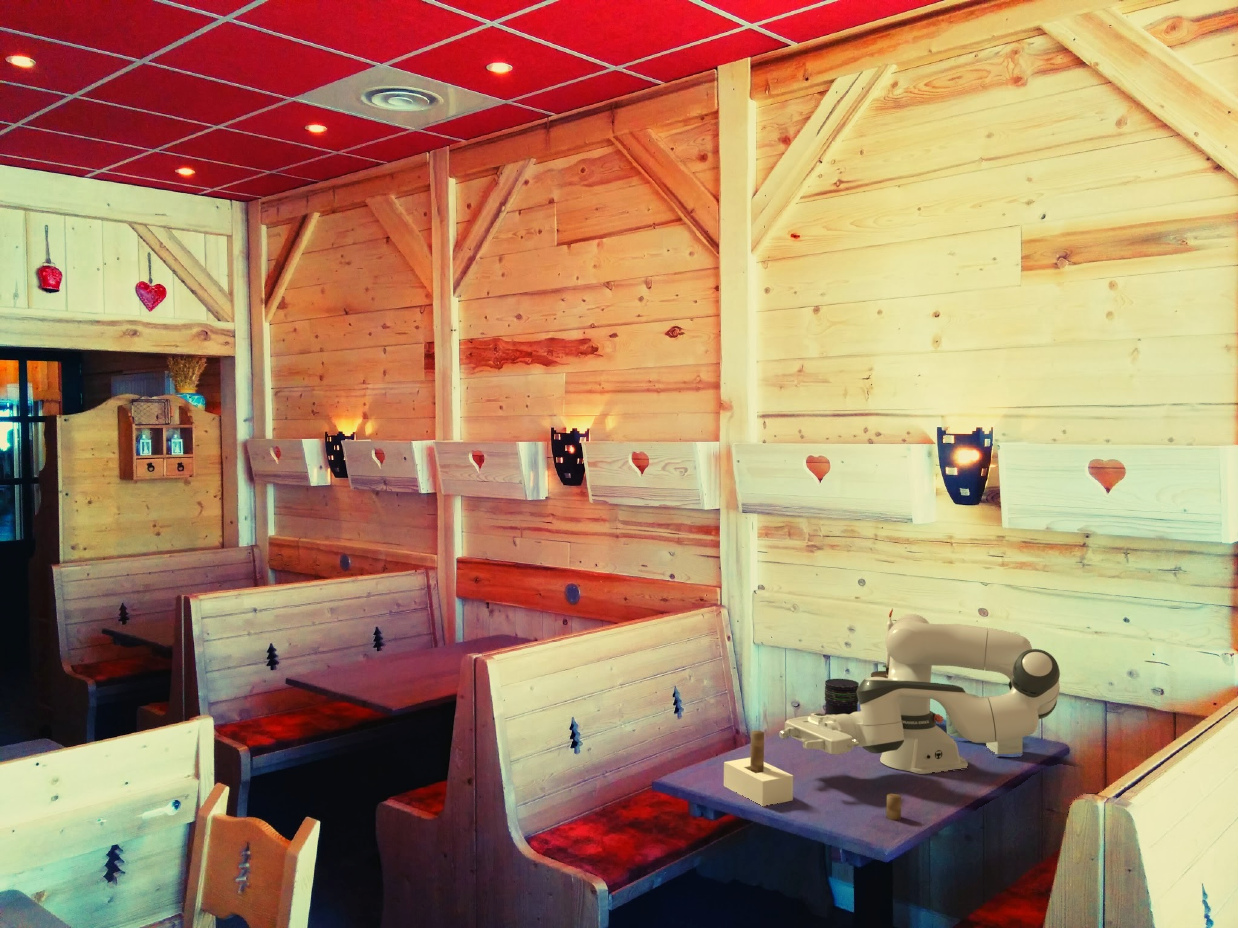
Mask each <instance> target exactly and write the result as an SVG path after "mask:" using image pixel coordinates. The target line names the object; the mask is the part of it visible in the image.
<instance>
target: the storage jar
mask: <svg viewBox="0 0 1238 928" xmlns="http://www.w3.org/2000/svg"><path fill="white" fill-rule="evenodd" d="M824 685H825V686H824V701H825V712H824V714H826V715H833V714H834V715H838V714H851V713H853V712H858V710H859V709H858V705H859V701H858V697H857V693H856V691H857V689H858V687H859V685H860V684H859V682H858V681H856V680H853V679H849V678H848V679H847V678H830V679H826V680H825V681H824Z"/></svg>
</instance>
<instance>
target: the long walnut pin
mask: <svg viewBox="0 0 1238 928" xmlns="http://www.w3.org/2000/svg"><path fill="white" fill-rule="evenodd" d="M764 756H765V732H764V731H761V730H752V731H750V757H751V763H750V771H752V772H754V773H760V772H764V762H765V760H764V759H765V757H764Z"/></svg>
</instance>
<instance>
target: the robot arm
mask: <svg viewBox="0 0 1238 928" xmlns="http://www.w3.org/2000/svg"><path fill="white" fill-rule="evenodd" d="M885 646H886V649H887V651H888V653H889V655H890V663H889V673H888V678H884V677H871V676H870V677H867V678H864V679H863V680H862V681H861V682H860V684H859V687H858V689H857V691H856V693H857V697H858V705H859V707H860V711H858V710H857V712H853V713H851V714H838V715H834V714H833V715H826V714H825V713H819V712H812V713H810V715H806V716H805V715H804V716H798V717H794V718H790V719H787V720H785V722H784V729H782V730H780V731H779V735H778V736H779V738H781V739H783V740H787V739H789V738H792V739H795V740H797V741H800V742H802V748H803V749H805V750H811V749H812V750H821V751H823V752H826V753H827V754H830V755H833V756H834V755H835V756H836V755H842V754H845V753H848V752H852V750H853V748H856V747H862V749H864V750H865V751H867V752H868V753H870V754H881V755H880V758H879V760H880V762H881V763H882V764H883V765H885V766H887V767H889V768H893V769H897V770H900V771H908V772H912V773H915V774H920V775H926V774H932V772H935V773H942V772H941V771H944V772H949V771H948V770H952V769H961V768H967V766H968V764H969V763H968V761H967V760H966V759H965V758H964V757H962V755H959V754H960V753H959V748H958V744H957V741H954V739H953V738H951V737H950V736H949V735H948V734H947V732H946V731H944V730H943V729H942V728H941V727H939V726H938V725H937V724H942V723H943V722H944V720H945V719H944V717H943V715H941V714H938V713H935V712H933V711H932V710H931V700H933V701H936V702H938V703H939V704H940V705H941V707H943V709H944V711H945V713H946V712H947V714H948V716H949V718H950V719H951V721H952V723H953V725H954V726H955V728H956V729H957V730H958V732H959V733H960V734H961V735H962V736H963V737H964V738H966V739H967V740H969V741H972V742H971V743H976V744H978V743H979V744H982V743H983V744H986V743H991V742H1001V741H1008V740H1013V739H1018V738H1022V737H1023V738H1024V737H1029V736H1032V735H1033V734H1034V733H1035V732H1036V731H1037V728H1038V726H1039V721H1040V720H1042V719H1045V718H1046V717H1048V716H1049V715H1051V714H1052V712H1053V711H1054V710H1055V708H1056V706H1057V702H1058V697H1059V694H1060V688H1061V687H1060V675H1061V672H1060V667H1059V664H1058V662H1057V660H1056V659H1055V657H1054V656H1053V655H1052V654H1051V653H1049V652H1048V651H1045V650H1043V649H1039V648H1032V644H1031V642H1030V640H1029V639H1028V638H1027V637H1026V636H1023V635H1022V634H1021V635H1020V634H1017V633H1014V632H1010V631H1007V630H1003V629H997V628H990V627H983V626H977V625H968V624H961V623H947V624H946V623H930V622H929V621H928V620H927V619H926V618H925V617H923V616H922V615H919V614H915V613H914V614H913V613H909V614H908V613H907V614H904V615H901V616H900V617H899V618H898V619H897V620H895V622H893V626H892V627H891V629H890V630H889V631H888V633H887V632H886V636H885ZM933 666H934V667H935V666H936V667H939V666H943V667H944V666H945V667H956V668H957V667H958V668H963V669H970V670H976V671H977V670H979V671H985V672H993V673H999V674H1002V675H1004V676H1006V677H1007V678H1008V679H1009V682H1008V687H1009V691H1008V692H1006V693H1005V694H1004V693H1003V694H999V695H993V696H990V695H989V696H979V695H977V696H973V695H974V694H973V695H970V694H971V693H969V692H966V690H965V689H964V688H963V687H962V686H959V685H955V684H949V683H938V682H931V679H932V670H933V669H932V668H933ZM978 696H979V697H978ZM968 767H969V766H968ZM967 769H968V768H967ZM961 770H962V769H961Z"/></svg>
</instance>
